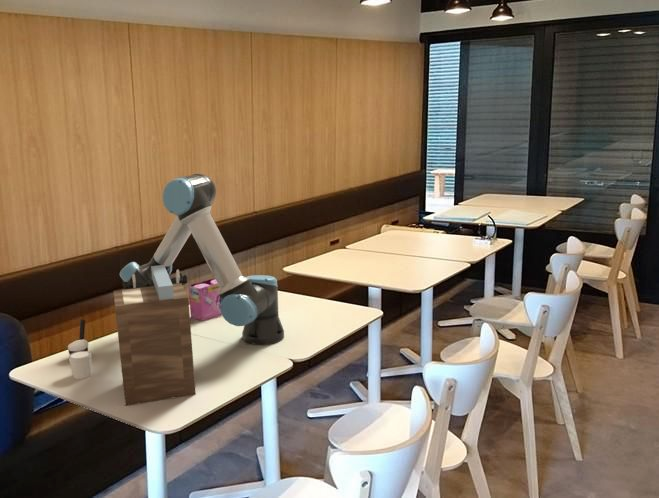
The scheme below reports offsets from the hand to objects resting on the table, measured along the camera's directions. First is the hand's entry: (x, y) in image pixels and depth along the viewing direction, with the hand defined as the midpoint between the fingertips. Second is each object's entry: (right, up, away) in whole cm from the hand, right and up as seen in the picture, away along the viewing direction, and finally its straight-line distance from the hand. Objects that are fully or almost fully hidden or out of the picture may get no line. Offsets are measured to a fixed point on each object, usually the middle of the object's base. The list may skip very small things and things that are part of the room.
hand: (156, 275), depth 207 cm
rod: (+4, -3, -9) cm, 11 cm away
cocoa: (-31, -29, +18) cm, 46 cm away
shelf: (+3, -34, -8) cm, 35 cm away
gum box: (+9, -18, +62) cm, 65 cm away
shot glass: (-25, -32, +3) cm, 41 cm away
